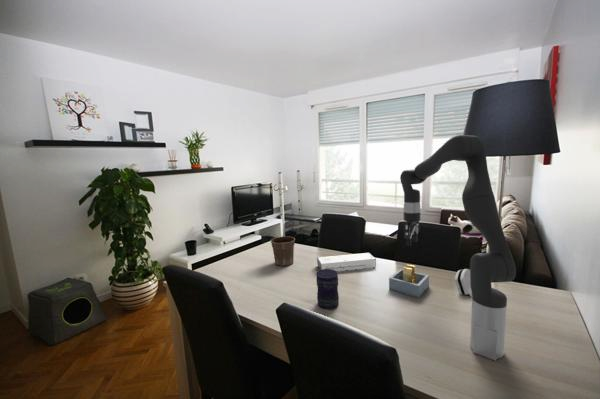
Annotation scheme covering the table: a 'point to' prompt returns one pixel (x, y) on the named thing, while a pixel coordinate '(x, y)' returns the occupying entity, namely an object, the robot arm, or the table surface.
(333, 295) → the storage jar
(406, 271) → the bracket
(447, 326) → the table surface
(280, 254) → the plant pot
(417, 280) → the box
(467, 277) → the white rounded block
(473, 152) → the robot arm
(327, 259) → the laminator
